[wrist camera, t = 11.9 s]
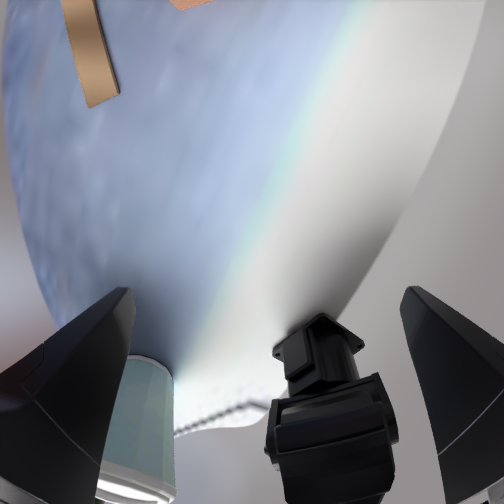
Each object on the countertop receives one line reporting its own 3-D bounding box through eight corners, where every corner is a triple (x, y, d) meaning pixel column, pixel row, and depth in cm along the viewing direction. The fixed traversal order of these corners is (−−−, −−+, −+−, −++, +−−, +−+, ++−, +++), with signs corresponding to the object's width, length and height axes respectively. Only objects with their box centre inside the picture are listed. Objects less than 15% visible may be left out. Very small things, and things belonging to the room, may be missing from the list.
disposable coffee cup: (154, 329, 27) (109, 481, 14) (212, 392, 31) (200, 518, 18) (83, 351, 29) (35, 466, 16) (142, 405, 34) (117, 509, 21)
